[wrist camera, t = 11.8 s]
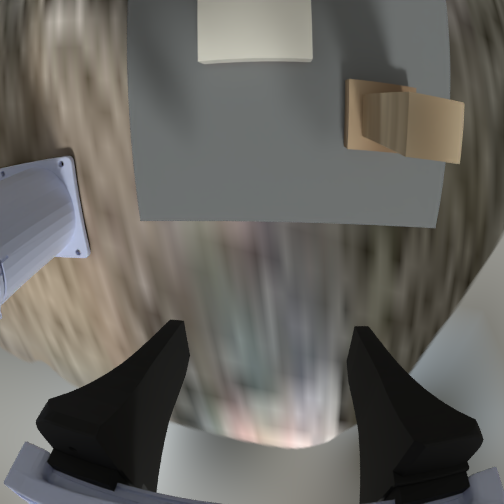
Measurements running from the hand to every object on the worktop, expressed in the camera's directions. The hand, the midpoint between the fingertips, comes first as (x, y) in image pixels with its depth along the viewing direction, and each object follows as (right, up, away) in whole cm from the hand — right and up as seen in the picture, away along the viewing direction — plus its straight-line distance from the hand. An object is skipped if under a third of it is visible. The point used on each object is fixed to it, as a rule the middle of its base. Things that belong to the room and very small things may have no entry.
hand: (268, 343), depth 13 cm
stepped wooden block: (+7, +12, +4) cm, 14 cm away
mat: (+2, +14, +3) cm, 15 cm away
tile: (0, +14, +2) cm, 14 cm away
